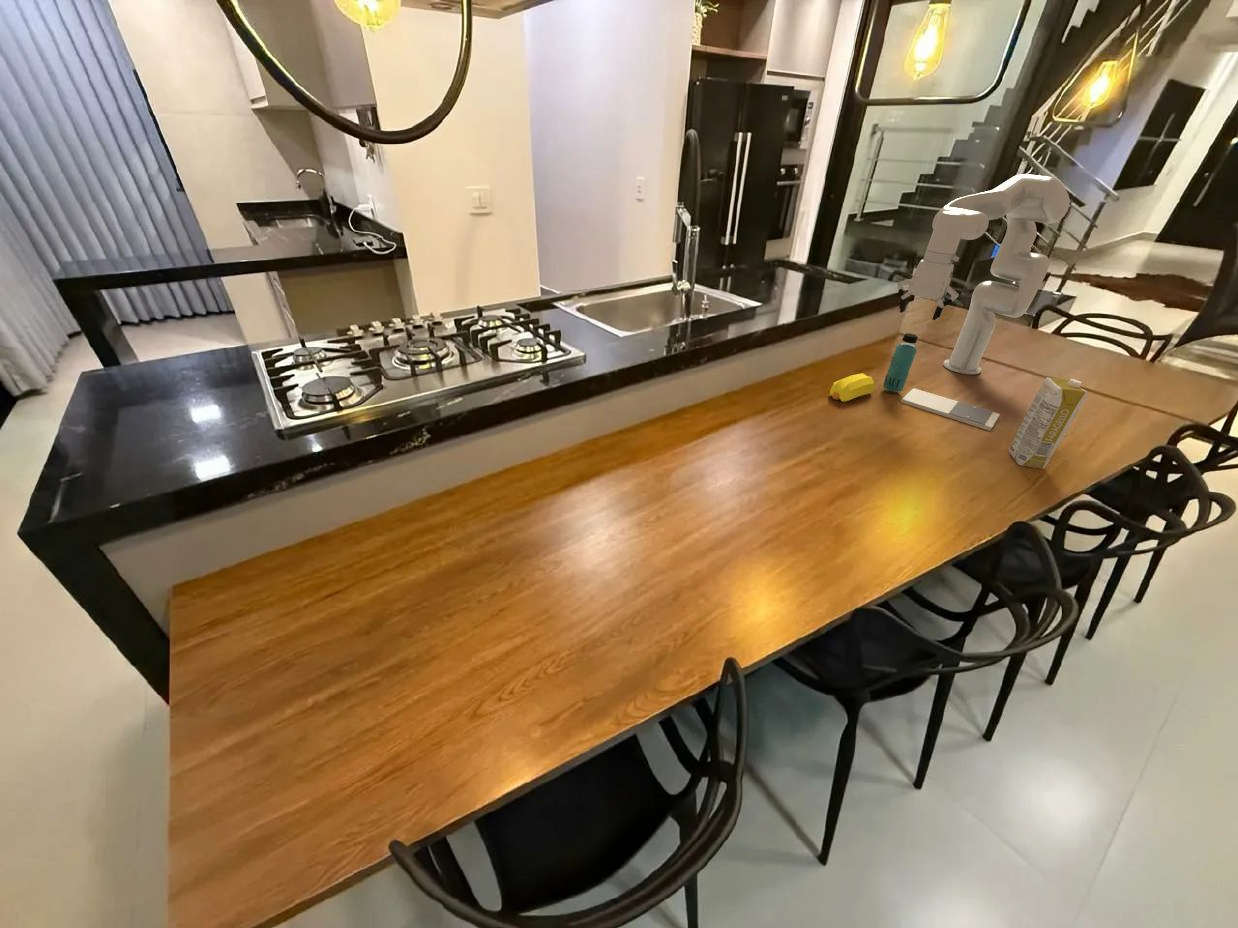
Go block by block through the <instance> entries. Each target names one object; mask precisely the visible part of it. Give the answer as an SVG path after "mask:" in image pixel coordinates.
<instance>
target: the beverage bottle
mask: <svg viewBox="0 0 1238 928" xmlns="http://www.w3.org/2000/svg"><path fill="white" fill-rule="evenodd" d="M917 340H918V335H917V334H913V333H911V332H910V333H905V334H903V337H902V342H901V343H899V344H897V345H896V346H895V350H894V352H893V356H892V357H891V360H890V364H889V365H888V369H887V372H886V375H885V378H884V381H883V388H884V389H886V390H887V391H891V392H897V393H898V392H902V391H903V390H904V386H905V384H906V383H907V379H908V377H909V373H910V371H911V367H912V366H913V362H914V359H915V357H916V354H917V351H918V349H917V347H916V346H915V345H914V344H916V343H917Z"/></svg>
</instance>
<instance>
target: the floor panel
mask: <svg viewBox="0 0 1238 928" xmlns="http://www.w3.org/2000/svg"><path fill="white" fill-rule="evenodd" d="M900 403H902V404H905V405H908V406H911V407H914V408H917V409H920V410H923V411H927V412H930V413H934V414H936V415H938V416H943V417H946V418H948V419H953V420H955V421H958V422H962V423H964V424H968V425H971V426H974V427H977V428H981V429H984V430H986V431H991V430H992V429H993V427H994V426H995V424H996V423H997V421H998V419H999V418H1000V415H1001V414H1000V413H998V412H994V410H990V409H986V408H982V407H980V406H976V405H973V404H970V403H966V402H963V401H959V400H954V399H951V398H948V397H944V396H941V395H938V394H935V393H931V392H928V391H924V390H921V389H918V388H916V387H914V388H912V389H911V390H910V391H909V392H908V393H906V395H904V397H902V399H901V401H900Z"/></svg>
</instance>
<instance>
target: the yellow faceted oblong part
mask: <svg viewBox="0 0 1238 928" xmlns="http://www.w3.org/2000/svg"><path fill="white" fill-rule="evenodd" d="M874 388H875V382H874V379H873V377H872V376H870V375H869V376H868V375H866V374H865V373H857V374H852V375H849V376H846V377H844V378H841V379H838V380H837V381H834V382H833V384H832V386H831V388H830V390H829V396H830V397H832V399H834V400H835V401H838V400H840V401H841V402H842V403H847V402H849V401H852V400H853V399H855V398H860V397H864V396H868V395H870V394H873V392H874V390H875V389H874Z"/></svg>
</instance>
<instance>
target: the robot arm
mask: <svg viewBox="0 0 1238 928" xmlns="http://www.w3.org/2000/svg"><path fill="white" fill-rule="evenodd" d="M1070 200H1071V199H1070V196H1069V193H1068V191H1067V190H1066V188H1065V187H1064V185H1063V183H1062V182H1061V181H1060V180H1059V179H1058V178H1056V177H1054V176H1047V175H1038V174H1031V173H1030V174H1029V173H1028V174H1027V173H1021V174H1016V175H1014V176H1012V177H1010V178H1009V179H1007V180H1006V181H1004V182H1002V183H1001V184H999V185H998V186H995V187H994V188H993V189H991V190H987V191H984V192H979V193H975V194H969V195H966V196H962V197H959V198H956V199H954V200H952V201H950V202H948V204H946V205H944V206H943V207H941V208H940V209H939V211H937V213H936V214H935V216H934V218H933V220H932V225H931V227H932V233H931V237H930V239H929V242H928V245H927V248H926V251H925V254H924V257H923V259H921V260H920V261H919V263H918V265H917V267H916V268H915V269H914V273H913V275H912V277H911V278H908V279H905V280H902V281H899V282H897V284H896V285H897V289H898V291H897V292H898V293H899V295H900V298H901V301H900V303H899V308H898V309H900V310H899V313H902V314H903V312H905V311H906V308H907V307H908V306H907V305H908V303H909V300H910V299H909V297H910V296H911V295H912V296H916V297H920V298H925V299H930V300H935V301H936V302H937V304H938V305H937V307H936V308H935V311H934V313H933V315H932V316H933V317H932V318H931V319H932V321H936V320H937V319H938V318H940V317H941V315H942V312H943V310H944V308H945V307H947V306H948V305H950V304H952V303H953V302H954V301H955V300H956V299H957V298H959V296H960V293H958V292H957V291H956V290H955V289H953V288H952V287H951V286H950V284H951V281H952V277H953V272H954V269H955V267H954V266H955V265H954V264H953V263H954V262H957V263H958V262H959V260H960V256H957V255H956V252H957V249H958V246H959V244H960V241H961V240H968V241H971V240H976V239H978V238H980V237H982V236H983V235H984V234H985V232H987V230H988V229H989V223H990V221H993V220H998V219H1001V218H1003V217H1005V216H1006V224H1007V225H1006V227H1007V228H1006V232H1005V235H1004V237H1003V240H1002V241H1001V244H1000V246H999V248H998V250H997V253H996V254H995V257H994V258H993V261H992V264H991V267H990V273H991V275H992V276H993V277H996V278H999V279H1003V280H1007V281H1011V282H1014V283H1015V282H1016V283H1019V286H1016V285H1012V284H1007V283H1004V282H999V281H993V280H984V281H982V282H980V283H979V284H977V286H976V287H974V290H973V293H972V296H971V299H970V305H969V308H968V312H967V315H966V318H965V320H964V322H963V325H962V327H961V330H960V333H959V336H958V338H957V340H956V342H955V345H954V348H953V350H952V353H951V354H950V358H948V359H945V360H944V361H943V362H942V365H943V367H944V368H945V369H947V370H950V371H952V372H954V373H958V374H963V375H968V376H969V375H971V376H972V375H973V376H974V375H979V374H981V371H982V368H981V367H980V366H979V364H980V362H981V361H982V358H983V355H984V353H985V350H986V349H987V346H988V344H989V342H990V339H991V336H992V334H993V333H994V330H995V327H996V323H997V319H996V315H995V314H998V315H1001V316H1004V317H1008V318H1009V317H1010V318H1014V319H1016V318H1020V317H1022V316H1023V315H1024V314H1025V313H1026V312H1027V310H1029V308H1030V306H1031V305H1032V302H1033V300H1034V298H1035V296H1036V294H1037V292H1038V291H1039V289H1040V287H1041V285H1042V283H1043V281H1044V279H1045V277H1046V275H1047V273H1048V270H1049V266H1050V260H1049V257H1048V256H1046V255H1044V254H1042V253H1037V252H1031V248H1032V246H1033V244H1034V242H1035V240H1036V238H1037V235H1038V233H1037V232H1038V230H1037V226H1036V223H1043V224H1048V225H1049V224H1050V225H1051V224H1056V223H1057V222H1059V221H1061V220H1062V219H1063V218H1064V217H1065V215H1066V214H1067V212H1068V211H1069V207H1070V205H1071V204H1070V203H1071V202H1070ZM906 285H908V288H907V291H906V289H904V286H906ZM947 293H948V294H949V295H950V296H951V297H950V298H948V299H947V300H945V298H944V297H946V295H947Z"/></svg>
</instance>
